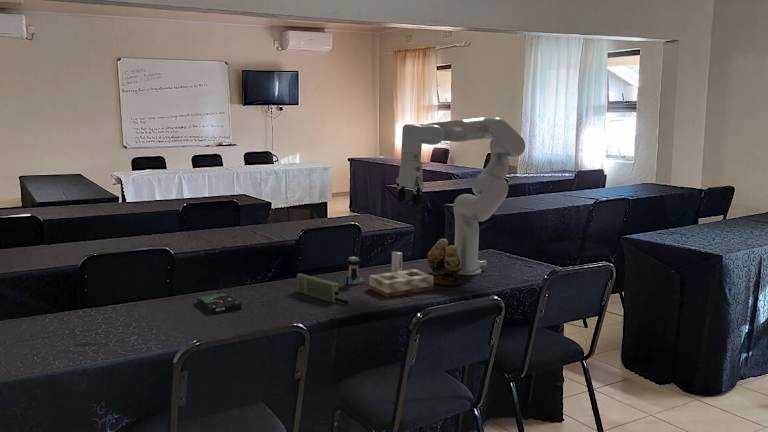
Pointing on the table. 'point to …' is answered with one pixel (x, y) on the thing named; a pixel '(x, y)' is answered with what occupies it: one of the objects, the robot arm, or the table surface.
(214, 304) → the disk drive
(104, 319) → the table surface
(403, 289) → the socket block
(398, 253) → the pin
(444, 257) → the tan lumpy piece
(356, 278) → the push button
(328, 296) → the handheld radio
